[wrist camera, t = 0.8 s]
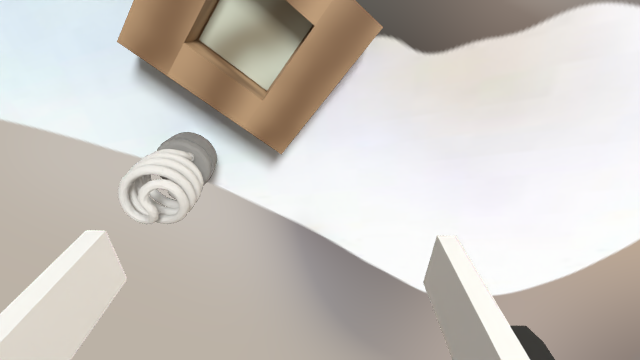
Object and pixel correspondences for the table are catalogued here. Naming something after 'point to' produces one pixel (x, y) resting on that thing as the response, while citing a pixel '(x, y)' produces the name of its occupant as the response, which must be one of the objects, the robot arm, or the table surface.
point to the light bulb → (168, 179)
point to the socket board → (253, 55)
